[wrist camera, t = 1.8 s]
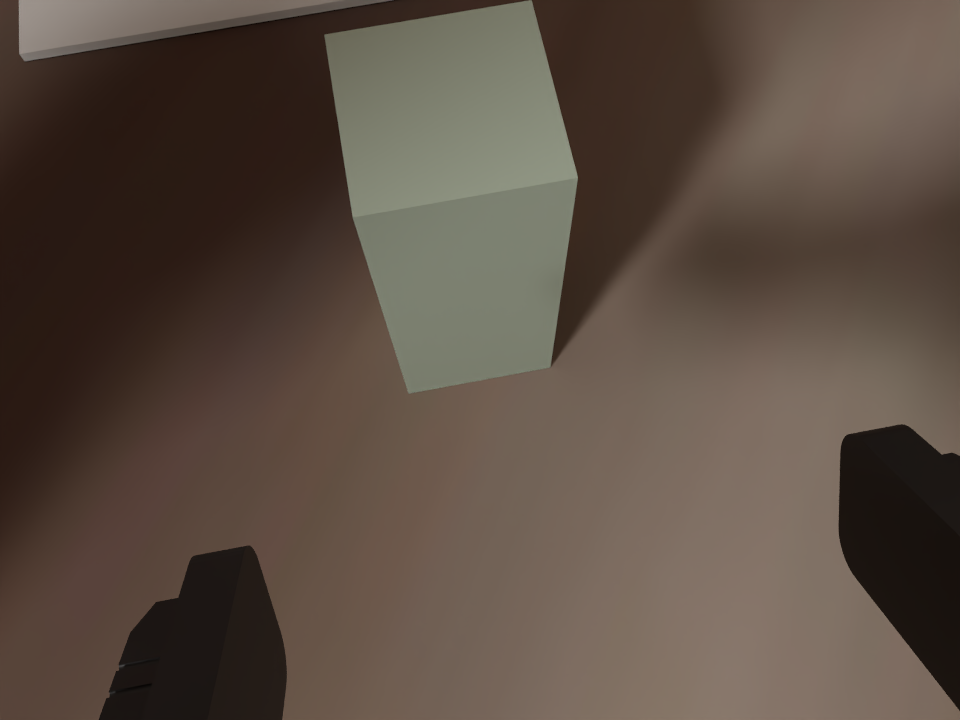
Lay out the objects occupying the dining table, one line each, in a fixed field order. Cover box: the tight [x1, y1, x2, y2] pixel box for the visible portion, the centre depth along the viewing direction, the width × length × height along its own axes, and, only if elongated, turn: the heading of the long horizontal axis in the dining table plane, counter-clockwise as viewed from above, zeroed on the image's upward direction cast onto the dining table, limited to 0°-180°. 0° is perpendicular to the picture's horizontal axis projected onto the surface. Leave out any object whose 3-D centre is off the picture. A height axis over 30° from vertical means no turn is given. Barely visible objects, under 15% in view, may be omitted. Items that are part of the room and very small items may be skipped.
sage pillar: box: [324, 0, 578, 393], centre depth 23 cm, size 4×4×11 cm
